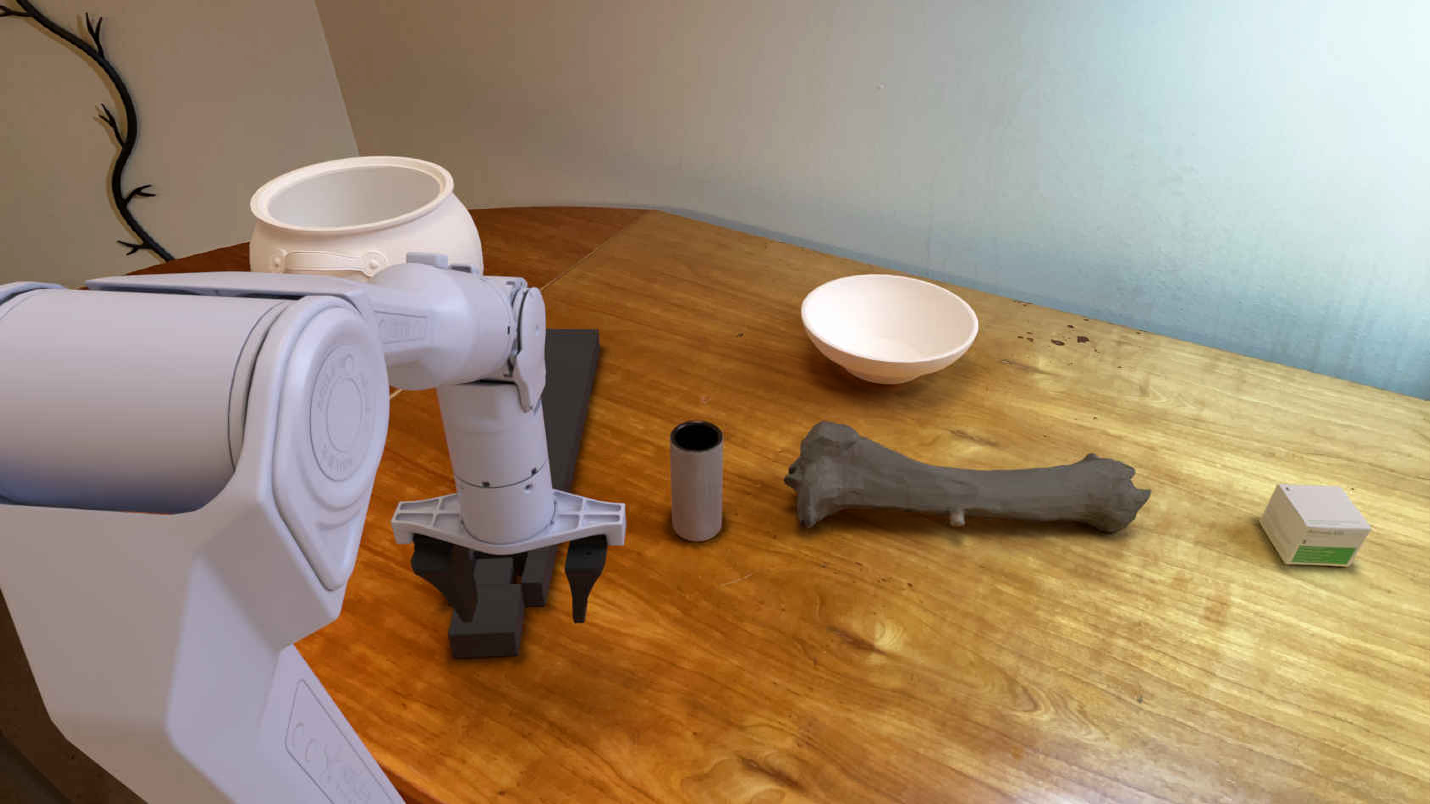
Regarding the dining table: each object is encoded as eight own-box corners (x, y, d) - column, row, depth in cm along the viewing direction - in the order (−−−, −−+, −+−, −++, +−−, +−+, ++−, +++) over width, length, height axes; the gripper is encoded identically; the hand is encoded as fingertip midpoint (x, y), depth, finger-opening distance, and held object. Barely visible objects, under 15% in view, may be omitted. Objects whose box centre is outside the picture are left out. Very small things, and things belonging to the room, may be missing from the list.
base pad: (545, 606, 75) (541, 582, 73) (448, 605, 75) (442, 581, 73) (600, 349, 107) (598, 329, 106) (532, 348, 108) (530, 328, 106)
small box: (1284, 566, 79) (1306, 525, 76) (1256, 521, 84) (1275, 481, 81) (1351, 569, 79) (1375, 528, 76) (1319, 524, 84) (1341, 483, 81)
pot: (325, 257, 127) (294, 144, 117) (513, 262, 126) (497, 148, 117) (223, 373, 103) (175, 242, 93) (455, 380, 102) (429, 248, 93)
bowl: (957, 431, 95) (968, 376, 91) (777, 395, 100) (780, 342, 96) (976, 339, 110) (986, 289, 106) (819, 312, 115) (823, 263, 111)
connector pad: (518, 655, 71) (514, 631, 69) (453, 659, 70) (447, 635, 69) (528, 580, 77) (524, 556, 76) (469, 582, 77) (464, 559, 75)
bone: (781, 540, 81) (786, 460, 76) (780, 472, 89) (785, 395, 84) (1149, 555, 80) (1181, 475, 75) (1115, 484, 88) (1141, 407, 83)
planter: (731, 519, 84) (733, 430, 78) (704, 549, 80) (704, 458, 74) (690, 502, 85) (688, 413, 80) (662, 530, 82) (659, 440, 76)
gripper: (625, 419, 58) (634, 570, 66) (399, 418, 58) (435, 569, 66) (615, 491, 52) (626, 647, 60) (364, 489, 52) (408, 646, 60)
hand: (525, 611), depth 63 cm, fingers open, 7 cm apart
